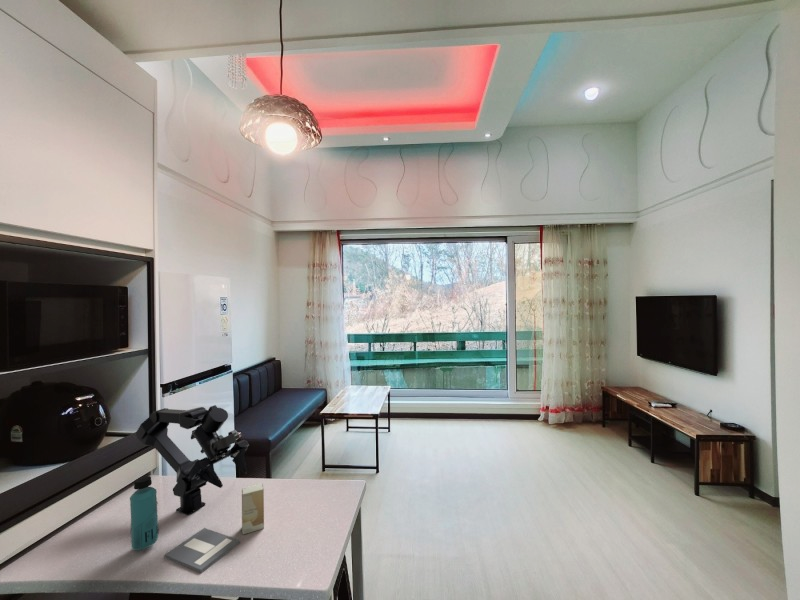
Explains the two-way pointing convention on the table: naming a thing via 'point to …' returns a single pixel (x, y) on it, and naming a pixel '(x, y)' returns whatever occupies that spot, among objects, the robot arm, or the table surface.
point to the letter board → (202, 549)
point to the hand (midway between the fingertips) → (234, 479)
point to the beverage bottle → (143, 514)
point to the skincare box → (252, 508)
